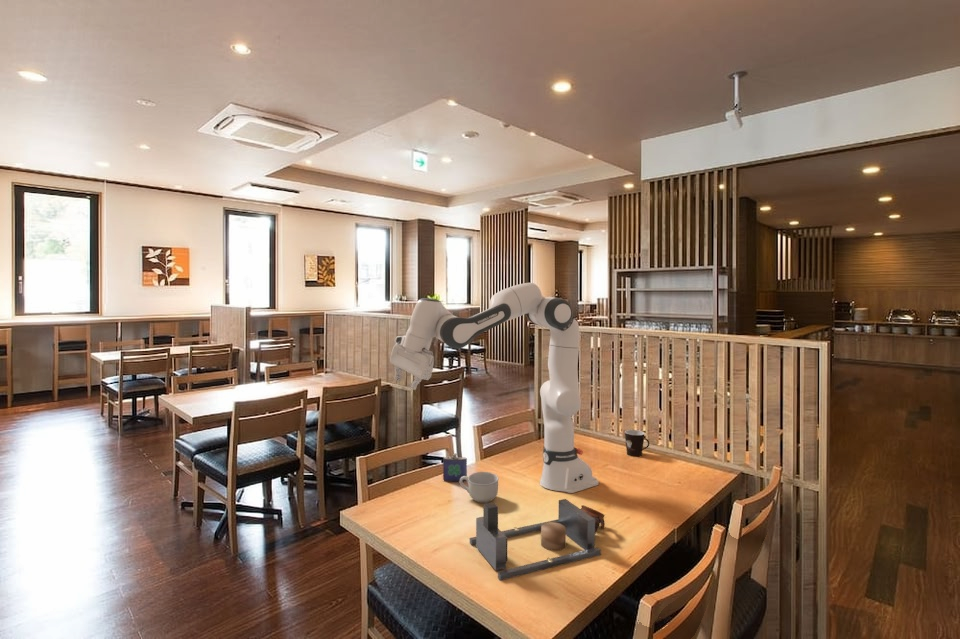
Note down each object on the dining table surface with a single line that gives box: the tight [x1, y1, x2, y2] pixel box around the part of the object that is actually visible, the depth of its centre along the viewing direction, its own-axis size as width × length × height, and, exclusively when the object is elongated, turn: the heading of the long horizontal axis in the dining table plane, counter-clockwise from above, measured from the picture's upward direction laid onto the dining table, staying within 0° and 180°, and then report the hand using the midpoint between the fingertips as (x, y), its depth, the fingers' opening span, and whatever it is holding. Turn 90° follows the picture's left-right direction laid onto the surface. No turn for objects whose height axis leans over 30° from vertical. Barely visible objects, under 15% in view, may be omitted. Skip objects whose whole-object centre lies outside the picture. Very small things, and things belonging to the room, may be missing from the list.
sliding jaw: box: [475, 502, 508, 571], centre depth 136 cm, size 4×13×14 cm, turn 23°
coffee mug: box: [624, 429, 650, 458], centre depth 222 cm, size 12×9×10 cm
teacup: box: [458, 471, 499, 504], centre depth 176 cm, size 14×11×8 cm
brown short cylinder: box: [540, 521, 567, 552], centre depth 144 cm, size 7×7×5 cm
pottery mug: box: [580, 505, 606, 535], centre depth 152 cm, size 12×10×8 cm
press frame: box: [469, 498, 602, 581], centre depth 141 cm, size 31×21×9 cm
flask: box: [442, 452, 468, 483], centre depth 192 cm, size 9×3×11 cm, turn 88°
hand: (404, 384), depth 165 cm, fingers open, 8 cm apart
